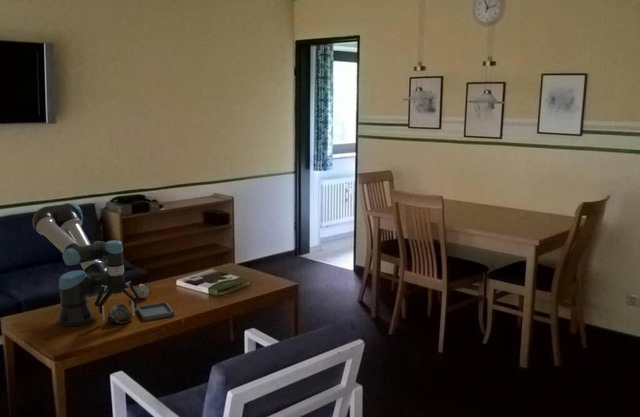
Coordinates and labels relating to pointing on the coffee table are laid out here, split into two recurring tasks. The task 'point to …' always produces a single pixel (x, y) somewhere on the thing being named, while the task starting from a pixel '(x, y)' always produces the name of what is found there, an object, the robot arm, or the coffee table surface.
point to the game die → (142, 290)
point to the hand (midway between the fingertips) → (118, 317)
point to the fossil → (119, 314)
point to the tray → (155, 311)
